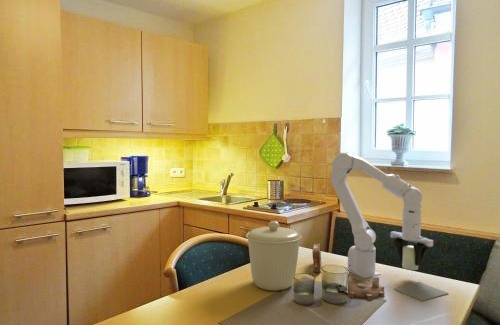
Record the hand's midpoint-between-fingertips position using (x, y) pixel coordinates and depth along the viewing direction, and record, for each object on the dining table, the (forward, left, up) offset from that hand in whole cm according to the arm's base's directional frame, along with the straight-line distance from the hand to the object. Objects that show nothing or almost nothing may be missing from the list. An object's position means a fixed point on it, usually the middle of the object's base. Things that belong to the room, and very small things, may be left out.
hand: (410, 262), depth 126 cm
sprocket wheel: (0, -22, -6) cm, 23 cm away
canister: (-17, -44, -6) cm, 48 cm away
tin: (-24, -21, -6) cm, 32 cm away
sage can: (0, 0, -2) cm, 2 cm away
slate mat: (+9, -6, -6) cm, 12 cm away
